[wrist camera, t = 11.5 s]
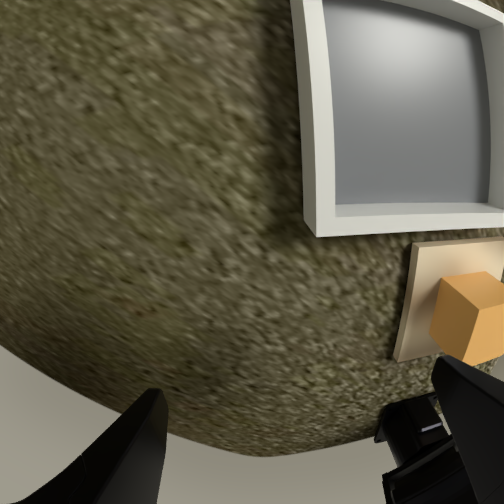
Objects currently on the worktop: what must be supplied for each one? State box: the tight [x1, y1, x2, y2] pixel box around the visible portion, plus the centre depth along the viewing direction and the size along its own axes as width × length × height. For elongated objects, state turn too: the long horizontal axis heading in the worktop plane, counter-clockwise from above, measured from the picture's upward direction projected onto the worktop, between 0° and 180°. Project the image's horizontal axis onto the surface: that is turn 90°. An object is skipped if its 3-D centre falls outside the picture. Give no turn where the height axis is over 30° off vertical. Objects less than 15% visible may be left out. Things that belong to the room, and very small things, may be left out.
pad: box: [393, 236, 504, 362], centre depth 21 cm, size 10×10×1 cm
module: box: [429, 271, 504, 366], centre depth 19 cm, size 5×5×5 cm
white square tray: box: [290, 0, 504, 237], centre depth 15 cm, size 16×16×4 cm
